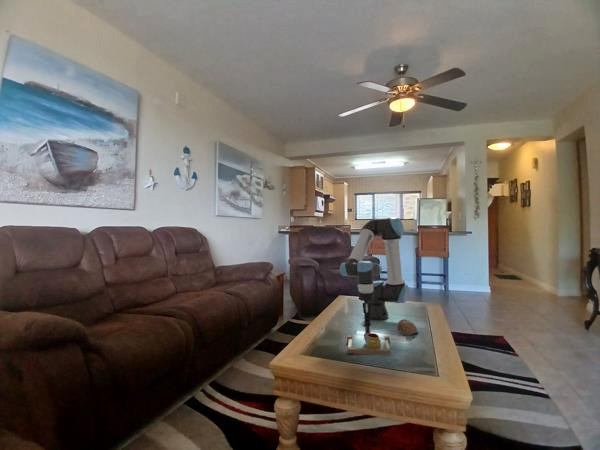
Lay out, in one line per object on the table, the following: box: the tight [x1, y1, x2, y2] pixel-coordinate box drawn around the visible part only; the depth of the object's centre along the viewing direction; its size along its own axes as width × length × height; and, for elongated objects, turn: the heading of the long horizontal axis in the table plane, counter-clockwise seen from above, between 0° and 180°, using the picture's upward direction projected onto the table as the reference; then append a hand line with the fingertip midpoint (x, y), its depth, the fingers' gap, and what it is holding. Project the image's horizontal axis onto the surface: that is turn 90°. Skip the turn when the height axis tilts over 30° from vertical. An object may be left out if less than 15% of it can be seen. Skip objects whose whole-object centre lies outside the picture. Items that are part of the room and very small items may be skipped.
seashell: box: [396, 318, 419, 336], centre depth 164 cm, size 10×9×10 cm
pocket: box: [346, 334, 391, 356], centre depth 145 cm, size 16×21×3 cm
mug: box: [363, 332, 382, 349], centre depth 146 cm, size 12×7×7 cm, turn 15°
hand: (368, 338), depth 152 cm, fingers closed
